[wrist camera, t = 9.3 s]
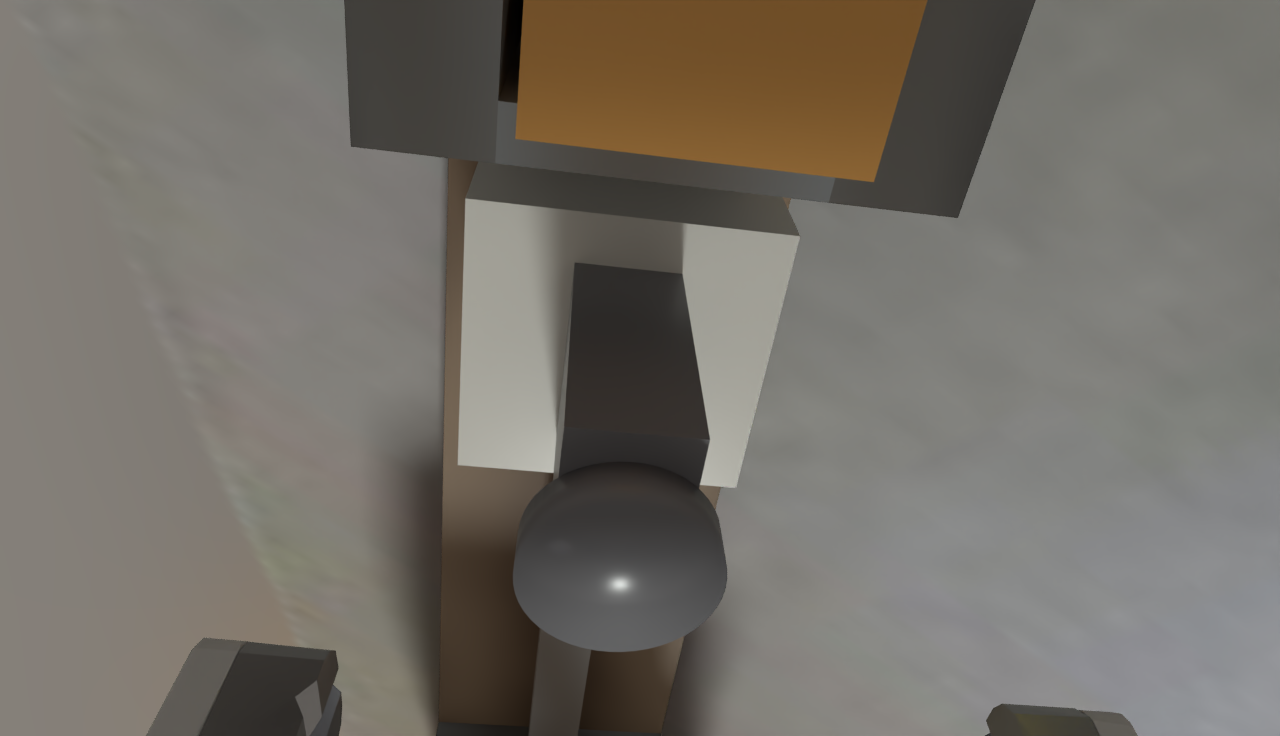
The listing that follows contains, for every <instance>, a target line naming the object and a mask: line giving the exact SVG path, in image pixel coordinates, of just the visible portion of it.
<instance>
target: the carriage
mask: <svg viewBox="0 0 1280 736" xmlns="http://www.w3.org/2000/svg"><path fill="white" fill-rule="evenodd" d="M799 239H800V235H799V233H798V230H797V228H796V226H795V224H794V222H793V219H792V217H791V215H790V213H789V211H788V208H787V206H786V204H785V202H784V200H783V197H776V196H767V195H759V194H750V193H742V192H733V191H725V190H716V189H708V188H699V187H691V186H682V185H674V184H665V183H657V182H648V181H640V180H631V179H623V178H614V177H606V176H597V175H589V174H580V173H572V172H564V171H555V170H547V169H538V168H530V167H521V166H513V165H504V164H496V163H487V162H479V161H478V164H477V167H476V170H475V173H474V175H473V178H472V181H471V184H470V187H469V190H468V192H467V195H466V198H465V229H464V264H463V299H462V334H461V368H460V403H459V438H458V465H463V466H475V467H487V468H500V469H512V470H524V471H536V472H548V473H554V474H553V481H552V482H550V483H549V484H548V485H546V486H545V487H543V488H542V489H541V490H540V491H539V492H538V493H537V494H536V495H535V496H534V497H533V499H532V500H531V501H530V503H529V504H528V505H527V507H526V509H525V511H524V513H523V515H522V518H521V520H520V523H519V529H518V535H517V543H516V552H515V560H514V569H513V586H514V591H515V595H516V597H517V600H518V602H519V604H520V606H521V607H522V609H523V611H524V612H525V613H526V615H527V616H528V617H529V618H530V619H531V620H532V621H533V622H534V623H535V624H536V625H537V626H538V627H539V628H541V629H542V630H544V631H545V632H546V633H548V634H550V635H551V636H553V637H555V638H557V639H559V640H561V641H564V642H566V643H569V644H571V645H575V646H578V647H581V648H586V649H591V650H596V651H606V652H628V651H638V650H644V649H649V648H653V647H657V646H661V645H664V644H667V643H670V642H672V641H674V640H677V639H679V638H681V637H683V636H685V635H686V634H688V633H690V632H691V631H693V630H694V629H696V628H697V627H698V626H700V625H701V624H702V623H703V622H704V621H705V620H706V619H707V618H708V617H709V616H710V615H711V614H712V613H713V611H714V610H715V609H716V608H717V606H718V604H719V602H720V601H721V599H722V597H723V594H724V591H725V588H726V582H727V566H726V559H725V553H724V547H723V541H722V535H721V528H720V523H719V519H718V516H717V513H716V511H715V509H714V507H713V505H712V504H711V502H710V500H709V499H708V498H707V497H706V496H705V494H704V493H703V492H702V491H701V490H700V489H699V487H700V485H707V486H719V487H731V488H736V486H737V482H738V478H739V474H740V470H741V466H742V462H743V458H744V454H745V450H746V446H747V443H748V439H749V435H750V431H751V427H752V423H753V419H754V415H755V411H756V407H757V403H758V399H759V396H760V392H761V388H762V384H763V380H764V376H765V372H766V368H767V364H768V360H769V356H770V352H771V349H772V345H773V341H774V337H775V333H776V329H777V325H778V321H779V317H780V313H781V309H782V305H783V302H784V298H785V294H786V290H787V286H788V282H789V278H790V274H791V270H792V266H793V262H794V258H795V255H796V251H797V247H798V243H799Z"/></svg>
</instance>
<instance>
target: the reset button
mask: <svg viewBox="0 0 1280 736" xmlns="http://www.w3.org/2000/svg"><path fill="white" fill-rule="evenodd" d="M926 4H927V0H524V1H523V18H522V35H521V52H520V68H519V85H518V102H517V119H516V136H515V139H520V140H528V141H537V142H545V143H553V144H561V145H570V146H578V147H586V148H595V149H603V150H611V151H619V152H628V153H636V154H644V155H653V156H661V157H669V158H677V159H686V160H694V161H702V162H710V163H719V164H727V165H735V166H744V167H752V168H760V169H768V170H777V171H785V172H793V173H801V174H810V175H818V176H826V177H835V178H843V179H851V180H859V181H868V182H874V180H875V177H876V173H877V170H878V167H879V163H880V160H881V156H882V153H883V150H884V146H885V143H886V139H887V136H888V133H889V129H890V126H891V122H892V119H893V116H894V112H895V109H896V105H897V102H898V99H899V95H900V92H901V88H902V85H903V82H904V78H905V75H906V71H907V68H908V65H909V61H910V58H911V54H912V51H913V48H914V44H915V41H916V37H917V34H918V31H919V27H920V24H921V20H922V17H923V14H924V10H925V7H926Z"/></svg>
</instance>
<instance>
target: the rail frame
mask: <svg viewBox="0 0 1280 736" xmlns="http://www.w3.org/2000/svg"><path fill="white" fill-rule="evenodd" d="M523 1H524V0H344V5H345V27H346V49H347V71H348V94H349V116H350V138H351V147H360V148H368V149H377V150H385V151H394V152H402V153H411V154H419V155H428V156H436V157H445V158H448V215H447V273H446V331H445V389H444V447H443V505H442V563H441V621H440V679H439V723H438V729H437V735H436V736H661V731H662V727H663V723H664V719H665V714H666V710H667V706H668V702H669V698H670V694H671V690H672V686H673V682H674V677H675V673H676V669H677V665H678V661H679V657H680V653H681V649H682V644H683V640H684V636H683V637H681V638H679V639H677V640H674V641H672V642H670V643H667V644H664V645H661V646H657V647H653V648H649V649H644V650H638V651H628V652H606V651H596V650H591V649H586V648H581V647H578V646H575V645H571V644H569V643H566V642H564V641H561V640H559V639H557V638H555V637H553V636H551V635H550V634H548V633H546V632H545V631H544V630H542V629H541V628H539V627H538V626H537V625H536V624H535V623H534V622H533V621H532V620H531V619H530V618H529V617H528V616H527V615H526V613H525V612H524V611H523V609H522V607H521V606H520V604H519V602H518V600H517V597H516V595H515V591H514V586H513V569H514V560H515V552H516V543H517V535H518V529H519V523H520V520H521V518H522V515H523V513H524V511H525V509H526V507H527V505H528V504H529V503H530V501H531V500H532V499H533V497H534V496H535V495H536V494H537V493H538V492H539V491H540V490H541V489H542V488H543V487H545V486H546V485H548V484H549V483H550V482H552V481H553V474H554V473H548V472H536V471H524V470H512V469H500V468H487V467H475V466H463V465H458V438H459V403H460V368H461V334H462V299H463V264H464V229H465V198H466V195H467V192H468V190H469V187H470V184H471V181H472V178H473V175H474V173H475V170H476V167H477V164H478V161H479V162H487V163H496V164H504V165H513V166H521V167H530V168H538V169H547V170H555V171H564V172H572V173H580V174H589V175H597V176H606V177H614V178H623V179H631V180H640V181H648V182H657V183H665V184H674V185H682V186H691V187H699V188H708V189H716V190H725V191H733V192H742V193H750V194H759V195H767V196H776V197H783V200H784V202H785V204H786V206H787V208H789V204H790V200H791V198H793V199H801V200H810V201H818V202H827V203H835V204H844V205H852V206H861V207H869V208H878V209H886V210H895V211H903V212H912V213H920V214H929V215H937V216H946V217H954V218H958V216H959V213H960V210H961V207H962V205H963V202H964V199H965V196H966V193H967V191H968V188H969V185H970V182H971V179H972V177H973V174H974V171H975V168H976V165H977V163H978V160H979V157H980V154H981V151H982V149H983V146H984V143H985V140H986V137H987V135H988V132H989V129H990V126H991V123H992V121H993V118H994V115H995V112H996V109H997V107H998V104H999V101H1000V98H1001V95H1002V93H1003V90H1004V87H1005V84H1006V81H1007V79H1008V76H1009V73H1010V70H1011V67H1012V65H1013V62H1014V59H1015V56H1016V53H1017V51H1018V48H1019V45H1020V42H1021V39H1022V37H1023V34H1024V31H1025V28H1026V25H1027V23H1028V20H1029V17H1030V14H1031V11H1032V9H1033V6H1034V3H1035V0H927V4H926V7H925V10H924V14H923V17H922V20H921V24H920V27H919V31H918V34H917V37H916V41H915V44H914V48H913V51H912V54H911V58H910V61H909V65H908V68H907V71H906V75H905V78H904V82H903V85H902V88H901V92H900V95H899V99H898V102H897V105H896V109H895V112H894V116H893V119H892V122H891V126H890V129H889V133H888V136H887V139H886V143H885V146H884V150H883V153H882V156H881V160H880V163H879V167H878V170H877V173H876V177H875V180H874V182H868V181H859V180H851V179H843V178H835V177H826V176H818V175H810V174H801V173H793V172H785V171H777V170H768V169H760V168H752V167H744V166H735V165H727V164H719V163H710V162H702V161H694V160H686V159H677V158H669V157H661V156H653V155H644V154H636V153H628V152H619V151H611V150H603V149H595V148H586V147H578V146H570V145H561V144H553V143H545V142H537V141H528V140H520V139H515V136H516V119H517V102H518V85H519V68H520V52H521V35H522V18H523ZM720 488H721V487H719V486H707V485H700V487H699V489H700V490H701V491H702V492H703V493H704V494H705V496H706V497H707V498H708V499H709V500H710V502H711V504H712V505H713V507H714V509H716V505H717V500H718V496H719V492H720Z"/></svg>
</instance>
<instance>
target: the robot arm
mask: <svg viewBox="0 0 1280 736" xmlns="http://www.w3.org/2000/svg"><path fill="white" fill-rule="evenodd" d="M337 671H338V662H337V656H336V651H334V650H324V649H314V648H304V647H294V646H284V645H274V644H265V643H254V642H248V641H236V640H225V639H212V638H203V639H202V640H201V641H200V642H199V643H198V644H197V645H196V646H195V647H194V648H193V649H192V650H191V652H190V654H189V656H188V658H187V660H186V662H185V664H184V665H183V667H182V669H181V671H180V673H179V675H178V677H177V678H176V681H175V682H174V684H173V686H172V688H171V690H170V692H169V694H168V696H167V697H166V699H165V701H164V703H163V705H162V707H161V709H160V711H159V712H158V714H157V716H156V718H155V720H154V722H153V724H152V726H151V727H150V729H149V731H148V733H147V735H146V736H339V731H340V726H341V716H342V698H341V692H340V691H339V690H338V689H337V688H336V687H335V686H334V685H333V683H334V680H335V677H336V674H337ZM986 722H987V725H988V727H989V730H990V733H989V734H987V735H985V736H1137V734H1136V732H1135V730H1134V728H1133V726H1132V725H1131V723H1130V722H1129V721H1128V720H1127V719H1126V718H1125V717H1124V716H1123V715H1122V714H1119V713H1113V712H1100V711H1084V710H1077V709H1075V708H1060V707H1045V706H1029V705H1014V704H1001V705H999V706H997V707H995V708H993V710H992V711H991V713H990V715H989V716H988V718H987V720H986Z"/></svg>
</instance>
